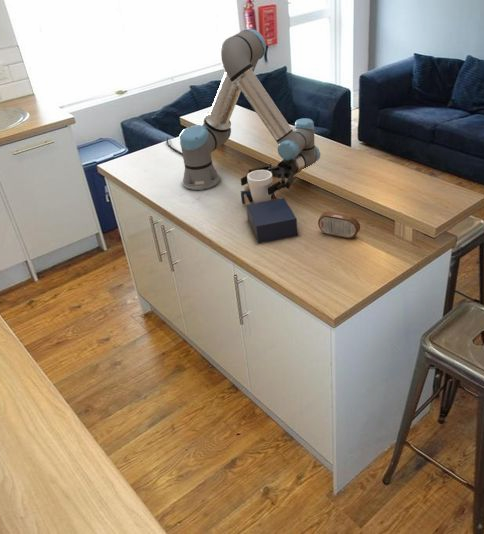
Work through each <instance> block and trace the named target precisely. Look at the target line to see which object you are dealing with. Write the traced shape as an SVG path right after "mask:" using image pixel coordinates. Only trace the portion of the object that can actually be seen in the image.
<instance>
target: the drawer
mask: <svg viewBox="0 0 484 534" xmlns="http://www.w3.org/2000/svg"><path fill="white" fill-rule="evenodd" d="M240 198H241V204H242V205H244V206H245V207H246V205H249V204H254V203H253V199H252V195H251V191H250V187H249V185H248V186H244V190H241V191H240ZM275 199H280V197H279V196H278V194H277V191H275V192H274V193H272V194H271V200H275Z"/></svg>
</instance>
